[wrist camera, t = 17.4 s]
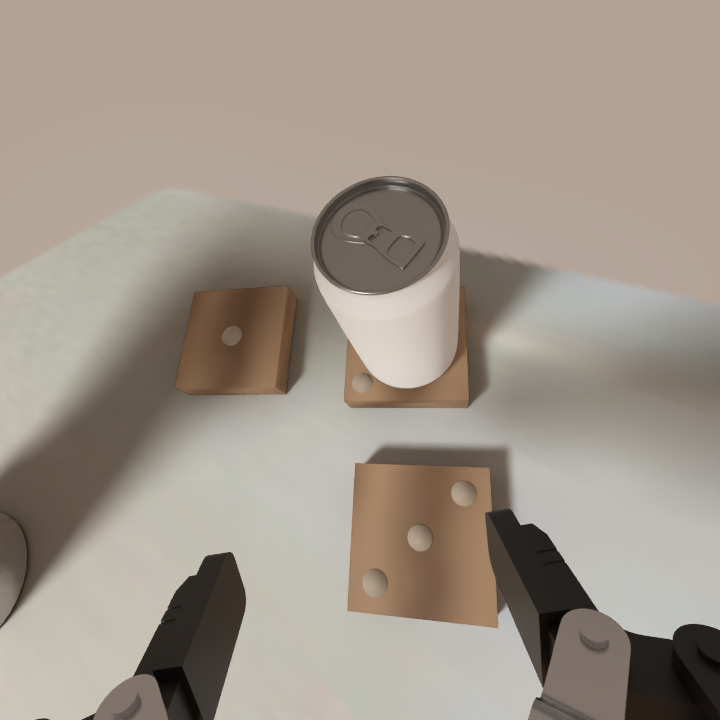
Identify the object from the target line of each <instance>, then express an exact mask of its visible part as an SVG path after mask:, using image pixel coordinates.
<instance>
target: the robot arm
mask: <svg viewBox="0 0 720 720" xmlns="http://www.w3.org/2000/svg"><path fill="white" fill-rule="evenodd" d="M485 521H486V531H487V542H488V552H489V558H490V562H491V566H492V569H493V572H494V575H495V577H496V580H497V582H498V584H499V587H500V589H501V591H502V594H503V596H504V598H505V601H506V603H507V605H508V608H509V610H510V612H511V615H512V617H513V619H514V622H515V624H516V626H517V629H518V631H519V633H520V636H521V638H522V640H523V643H524V645H525V647H526V650H527V652H528V654H529V657H530V659H531V661H532V664H533V666H534V668H535V671H536V673H537V675H538V678H539V680H540V682H541V684H542V687H544V688H543V692H542V695H541V697H540V698H538V697H536V699H535V700H534V702H533V705H532V708H531V711H530V715H529V719H528V720H720V630H718V629H716V628H713V627H710V626H705V625H700V624H688V625H684V626H681V627H679V628H678V629H677V630H676V631H675V632H674V635H673V640H670V639H663V638H657V637H650V636H644V635H639V634H635V633H631V632H628V631H626V630H624V629H623V628H622V627H621V626H620V625H619V624H618V623H617V622H616V621H615V620H613V619H612V618H610V617H609V616H607V615H605V614H603V613H601V612H599V611H598V610H597V608H596V607H595V605H594V604H593V602H592V601H591V599H590V598H589V596H588V595H587V593H586V592H585V590H584V589H583V587H582V586H581V584H580V583H579V581H578V580H577V578H576V577H575V575H574V574H573V573H572V571H571V570H570V568H569V567H568V565H567V564H566V563H565V562H564V559H563V558H562V556H561V555H560V553H559V552H558V551H557V549H556V547H555V546H554V544H553V543H552V541H551V540H550V538H549V537H548V535H547V534H546V533H544V532H543V531H542V530H540V529H539V528H538V527H536V526H535V525H534V524H526V525H520V524H519V522H518V520H517V519H516V517H515V515H514V514H513V512H512V511H511V509H504V510H498V511H491V512H486V513H485ZM26 567H27V549H26V541H25V538H24V535H23V532H22V530H21V528H20V527H19V525H18V524H17V522H16V521H14V520H13V519H12V518H11V517H10V516H8V515H5V514H3V513H0V626H1V624H2V623H3V622H4V620H5V619H6V618H7V616H8V615H9V614H10V612H11V610H12V608H13V606H14V604H15V603H16V601H17V599H18V596H19V594H20V591H21V588H22V585H23V582H24V577H25V573H26ZM245 606H246V595H245V589H244V586H243V583H242V580H241V576H240V573H239V570H238V567H237V564H236V561H235V558H234V555H233V554H232V553H231V552H227V553H221V554H214V555H208V556H206V557H205V558H204V560H203V562H202V564H201V566H200V568H199V571H198V573H197V575H195V576H189V577H188V578H187V580H186V581H185V582H184V583H183V584H182V585H181V586H180V587H179V588H178V590H177V591H176V592H175V594H174V596H173V598H172V600H171V602H170V604H169V606H168V610H167V611H166V612H165V614H164V616H163V618H162V620H161V624H159V626H158V628H157V630H156V632H155V634H154V636H153V638H152V640H151V642H150V644H149V646H148V648H147V650H146V652H145V654H144V656H143V658H142V660H141V662H140V664H139V666H138V668H137V670H136V672H135V674H134V676H133V677H131V678H129V679H127V680H126V681H124V682H122V683H121V684H120V685H118V686H117V687H116V688H115V689H113V690H112V691H111V692H110V693H109V694H108V695H107V697H106V698H105V699H104V700H103V702H102V703H101V705H100V706H99V708H98V710H97V712H96V713H95V714H93V715H91V716H89V717H86V718H84V719H82V720H214V717H215V713H216V710H217V706H218V703H219V699H220V696H221V692H222V689H223V685H224V682H225V679H226V675H227V672H228V668H229V665H230V661H231V658H232V654H233V651H234V647H235V644H236V640H237V637H238V633H239V630H240V626H241V623H242V619H243V616H244V612H245ZM37 720H49V719H44V718H43V719H37Z"/></svg>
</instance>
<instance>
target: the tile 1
mask: <svg viewBox="0 0 720 720" xmlns="http://www.w3.org/2000/svg"><path fill="white" fill-rule="evenodd" d="M296 304H297V297H296V296H295V295H294V293H293V292H292V291H291V289H290V288H289V287H288V286H277V287H262V288H247V289H232V290H217V291H202V292H195V293H194V297H193V302H192V307H191V312H190V316H189V321H188V326H187V330H186V335H185V340H184V345H183V349H182V354H181V359H180V363H179V368H178V373H177V377H176V382H175V387H174V388H176V389H178V390H181V391H183V392H185V393H187V394H190V395H245V394H286V391H287V382H288V373H289V365H290V356H291V347H292V339H293V330H294V321H295V313H296Z"/></svg>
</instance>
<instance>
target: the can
mask: <svg viewBox="0 0 720 720" xmlns="http://www.w3.org/2000/svg"><path fill="white" fill-rule="evenodd" d="M311 251H312V256H313V260H314V275H315V279H316V282H317V285H318V288H319V290H320V292H321V294H322V296H323V298H324V300H325V301H326V303H327V305H328V306H329V308H330V310H331V311H332V313H333V315H334V316H335V318H336V320H337V321H338V323H339V325H340V326H341V328H342V329H343V331H344V333H345V334H346V336H347V338H348V339H349V341H350V342H351V344H352V346H353V347H354V349H355V350H356V352H357V354H358V355H359V357H360V358H361V360H362V362H363V363H364V365H365V366H366V367H367V369H368V370H369V371H370V373H371V374H372V375H373V376H374V377H376V378H377V379H378V380H380V381H381V382H383V383H385V384H387V385H390V386H393V387H398V388H416V387H420V386H424V385H426V384H429V383H431V382H433V381H434V380H436V379H437V378H439V377H440V376H441V375H442V374H443V373H444V372H445V371H446V370H447V369H448V367H449V366H450V364H451V363H452V361H453V359H454V356H455V353H456V349H457V342H458V322H459V288H460V248H459V242H458V237H457V233H456V231H455V228H454V226H453V224H452V223H451V221H450V219H449V217H448V213H447V210H446V208H445V206H444V204H443V202H442V201H441V199H440V198H439V197H438V196H437V194H436V193H435V192H434V191H432V190H431V189H430V188H429V187H427V186H425V185H424V184H422V183H420V182H418V181H415V180H412V179H409V178H404V177H397V176H383V177H375V178H371V179H367V180H364V181H361V182H358V183H356V184H354V185H352V186H350V187H348V188H346V189H345V190H343V191H342V192H340V193H339V194H337V195H336V196H335V197H334V198H333V199H332V200H331V201H330V202H329V203H328V204H327V205H326V206H325V208H324V209H323V210H322V211H321V213H320V215H319V216H318V218H317V220H316V222H315V225H314V228H313V231H312V236H311Z"/></svg>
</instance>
